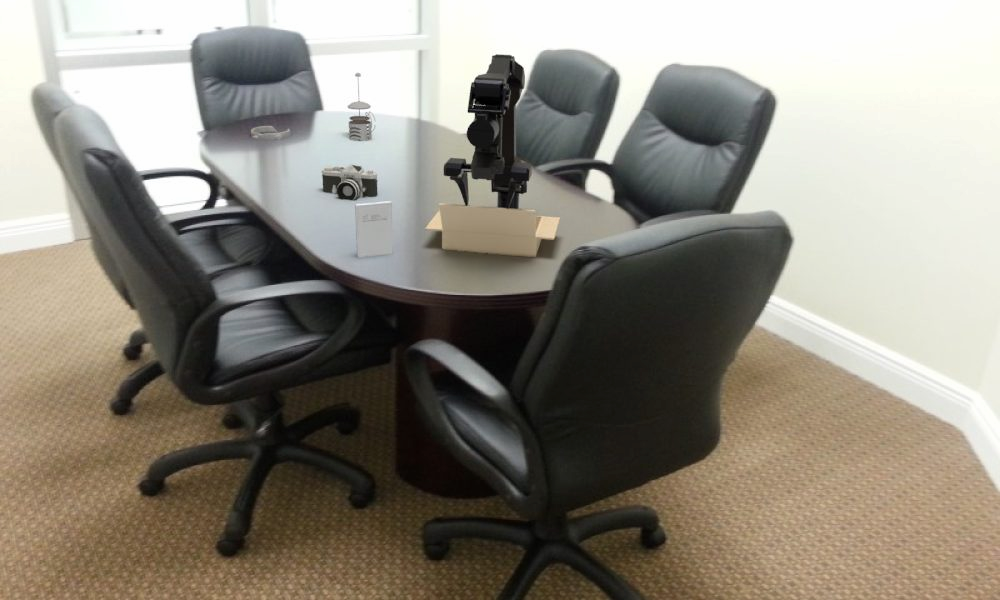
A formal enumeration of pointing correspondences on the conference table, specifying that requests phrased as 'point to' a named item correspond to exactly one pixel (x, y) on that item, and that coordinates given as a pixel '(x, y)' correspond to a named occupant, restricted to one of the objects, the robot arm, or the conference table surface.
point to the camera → (349, 182)
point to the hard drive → (374, 228)
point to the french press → (360, 120)
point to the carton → (496, 238)
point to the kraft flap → (488, 220)
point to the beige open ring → (269, 136)
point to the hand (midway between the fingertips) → (487, 207)
